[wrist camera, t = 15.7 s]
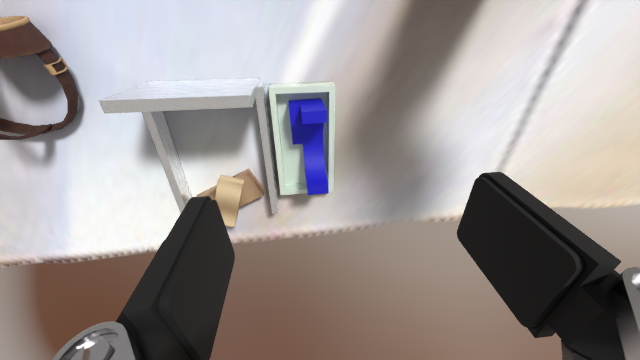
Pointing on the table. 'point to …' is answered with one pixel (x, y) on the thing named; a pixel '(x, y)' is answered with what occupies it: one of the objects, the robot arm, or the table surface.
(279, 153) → the sage tray
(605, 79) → the table surface
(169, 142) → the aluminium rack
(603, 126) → the table surface
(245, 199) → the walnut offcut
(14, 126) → the goggles
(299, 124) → the cable clip
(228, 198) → the oak offcut
